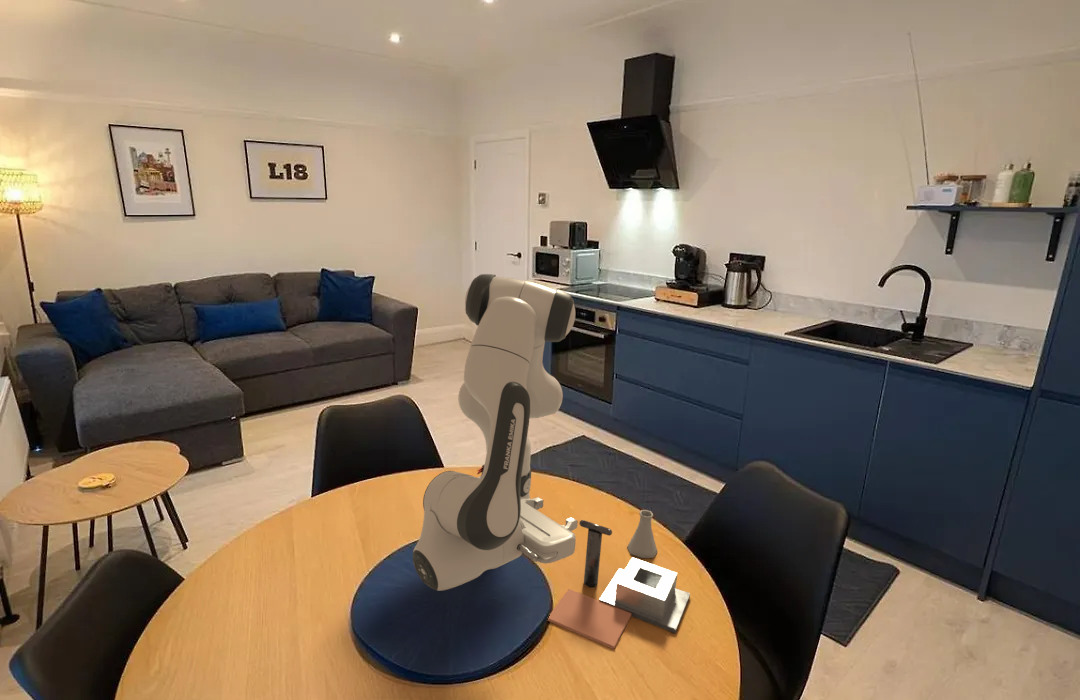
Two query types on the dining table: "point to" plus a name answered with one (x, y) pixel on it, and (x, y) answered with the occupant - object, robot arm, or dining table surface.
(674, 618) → the block
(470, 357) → the robot arm
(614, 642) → the key mat
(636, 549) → the flask
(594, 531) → the chuck key
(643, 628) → the dining table surface
